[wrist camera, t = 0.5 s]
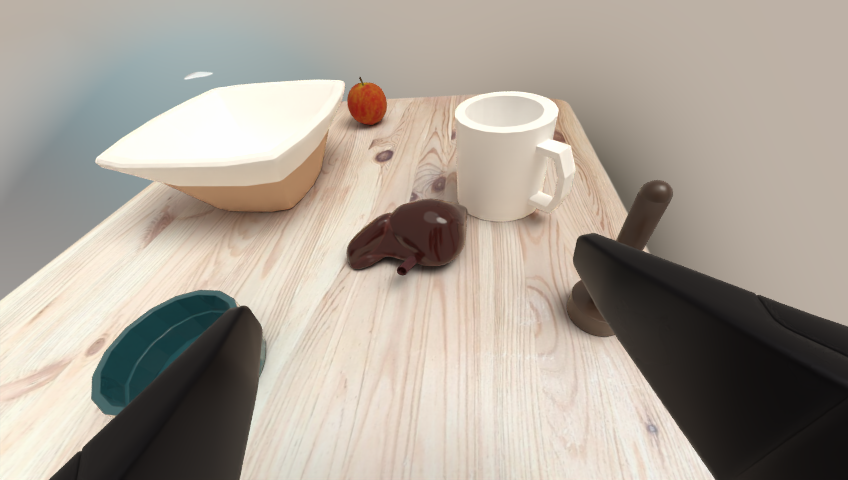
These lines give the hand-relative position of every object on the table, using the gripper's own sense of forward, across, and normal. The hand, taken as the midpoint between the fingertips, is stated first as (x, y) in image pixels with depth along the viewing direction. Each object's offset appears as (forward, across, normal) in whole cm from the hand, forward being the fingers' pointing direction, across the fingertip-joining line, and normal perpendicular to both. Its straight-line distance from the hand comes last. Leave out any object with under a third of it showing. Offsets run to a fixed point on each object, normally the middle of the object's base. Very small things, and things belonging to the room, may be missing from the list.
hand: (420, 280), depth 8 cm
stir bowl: (+11, +18, +16) cm, 27 cm away
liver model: (+21, 0, +15) cm, 26 cm away
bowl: (+39, +17, +13) cm, 45 cm away
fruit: (+55, +2, +10) cm, 56 cm away
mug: (+26, -13, +14) cm, 32 cm away
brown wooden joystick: (+9, -14, +16) cm, 23 cm away
